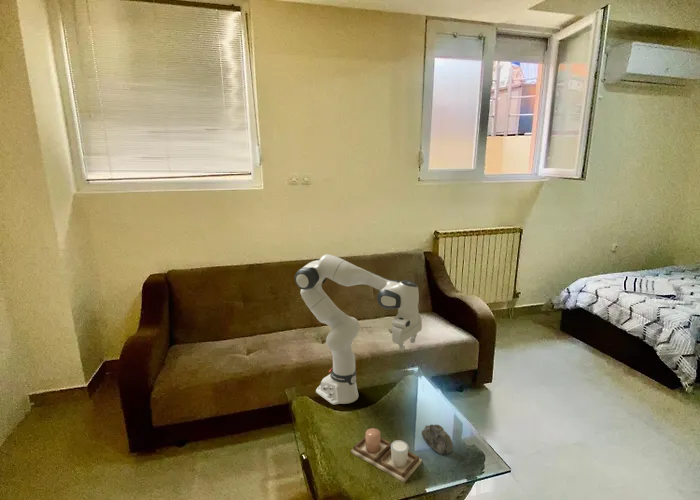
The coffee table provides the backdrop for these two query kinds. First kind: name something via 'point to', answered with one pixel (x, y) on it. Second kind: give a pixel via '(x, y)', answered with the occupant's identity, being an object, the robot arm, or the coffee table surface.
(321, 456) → the coffee table surface
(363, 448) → the divided wooden tray
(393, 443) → the white cylinder
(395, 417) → the coffee table surface
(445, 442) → the mineral rock
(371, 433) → the tan rounded cylinder
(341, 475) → the coffee table surface
